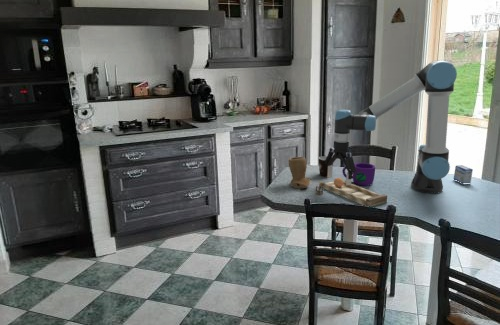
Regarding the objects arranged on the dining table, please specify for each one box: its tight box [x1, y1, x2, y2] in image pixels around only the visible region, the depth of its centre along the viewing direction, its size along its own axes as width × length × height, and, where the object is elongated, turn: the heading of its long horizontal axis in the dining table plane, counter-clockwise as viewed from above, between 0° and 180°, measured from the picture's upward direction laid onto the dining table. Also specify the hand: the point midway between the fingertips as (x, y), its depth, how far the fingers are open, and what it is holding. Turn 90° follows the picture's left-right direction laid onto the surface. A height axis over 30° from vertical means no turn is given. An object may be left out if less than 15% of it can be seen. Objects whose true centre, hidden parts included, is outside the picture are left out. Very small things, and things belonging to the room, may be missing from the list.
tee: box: [315, 185, 324, 196], centre depth 196 cm, size 3×3×4 cm
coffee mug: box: [318, 155, 328, 178], centre depth 225 cm, size 12×9×10 cm
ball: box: [333, 177, 345, 187], centre depth 202 cm, size 5×5×5 cm
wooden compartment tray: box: [318, 177, 388, 207], centre depth 195 cm, size 34×12×4 cm, turn 32°
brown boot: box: [288, 156, 311, 190], centre depth 207 cm, size 15×12×15 cm
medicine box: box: [453, 164, 474, 184], centre depth 211 cm, size 8×4×9 cm, turn 13°
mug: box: [341, 162, 376, 187], centre depth 211 cm, size 17×11×10 cm, turn 59°
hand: (338, 181), depth 202 cm, fingers open, 13 cm apart
